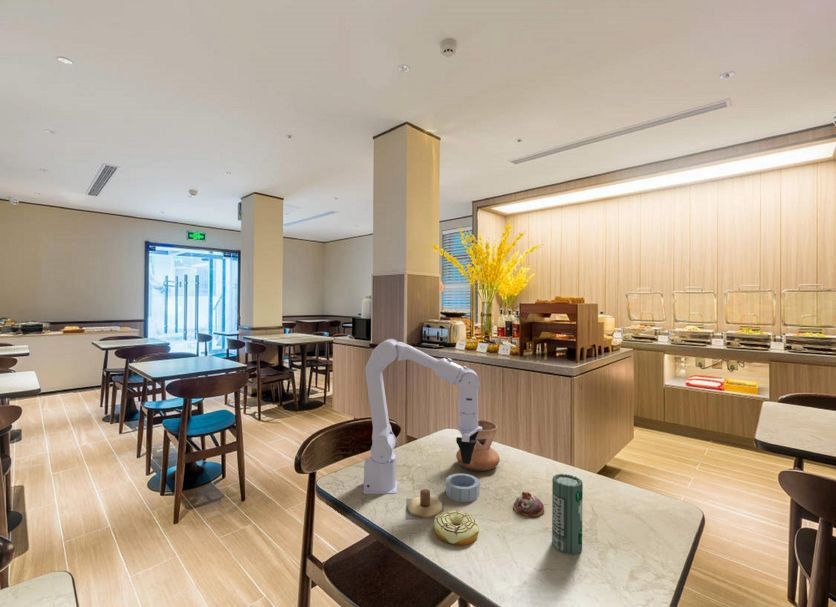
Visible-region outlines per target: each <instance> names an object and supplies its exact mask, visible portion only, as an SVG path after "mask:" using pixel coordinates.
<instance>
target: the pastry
mask: <svg viewBox="0 0 836 607" xmlns="http://www.w3.org/2000/svg"><path fill="white" fill-rule="evenodd" d="M513 509H514V511H515V512H516V514H519V515H521V516H524V517H527V518H539V517H541V516H543V515H544V514H545V506H544V503H543V502H542V501H541V499H539V498H538V497H536V496H535V495H533V494H532V493H530V492H528V491H522V493H521V494H520V496H519V497H516V500H515V501H514V503H513Z"/></svg>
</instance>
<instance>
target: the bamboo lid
mask: <svg viewBox="0 0 836 607" xmlns="http://www.w3.org/2000/svg"><path fill="white" fill-rule="evenodd" d="M419 492H420V493H419V494H420V495H419V496H415V497H413V498H411V499H412V500H410V502H409V503H408V510H409V512H410V513H411V514H412V515H414V516H417V517H421V518H430V517H434V516H437V515H438V514H440V513H441V511H442V503H441V502H440V501H439V500H438V499H439V498H436V497H433V496H431V491H430V489H427V488H425V489H424V488H423V489H421V490H420V491H419Z"/></svg>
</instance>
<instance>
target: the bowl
mask: <svg viewBox="0 0 836 607" xmlns="http://www.w3.org/2000/svg"><path fill="white" fill-rule="evenodd" d="M445 494H446V497H447V498H448V499H450V500H452V501H455V502H459V503H471V502H474V501H476V500H478V498H479V497H480V481H479V479H478V477H476V476H474V475H471V474H468V473H453V474H449V475H448V476H447V477H446V478H445Z"/></svg>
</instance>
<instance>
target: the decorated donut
mask: <svg viewBox="0 0 836 607" xmlns="http://www.w3.org/2000/svg"><path fill="white" fill-rule="evenodd" d="M432 525H433V528H434V532H435V534H436V535H437V537H438V539H440V540H441V541H442V542H444V543H445V542H446V543H447V544H450V545H454V546H467V545H471V544H473V543H475V541H476V540H477V538H478V536H479V533H480V527H479V523H478V522H477V520H476V518H474V516H472V515H471V514H469V513H467V512H465V511H462V510H458V509H451V510H450V509H449V510H444V512H443V513H440V514H438V515H437V516H436V517H435V519H433V524H432Z"/></svg>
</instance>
